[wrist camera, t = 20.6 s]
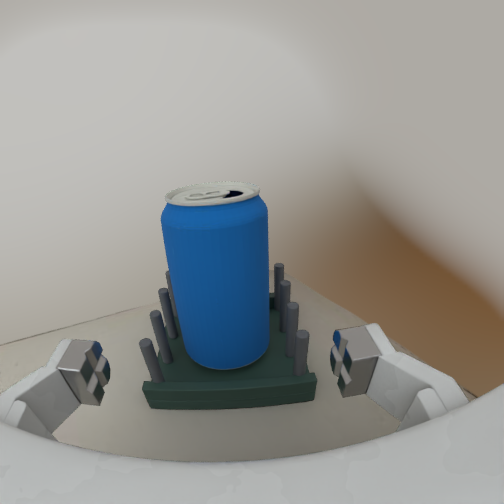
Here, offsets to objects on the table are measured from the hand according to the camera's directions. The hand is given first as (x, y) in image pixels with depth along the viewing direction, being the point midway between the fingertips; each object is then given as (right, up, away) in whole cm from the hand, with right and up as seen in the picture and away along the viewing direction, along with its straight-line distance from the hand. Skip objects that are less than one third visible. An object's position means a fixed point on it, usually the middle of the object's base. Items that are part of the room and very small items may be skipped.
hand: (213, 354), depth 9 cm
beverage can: (-1, -4, +13) cm, 13 cm away
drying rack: (-1, -5, +13) cm, 14 cm away
